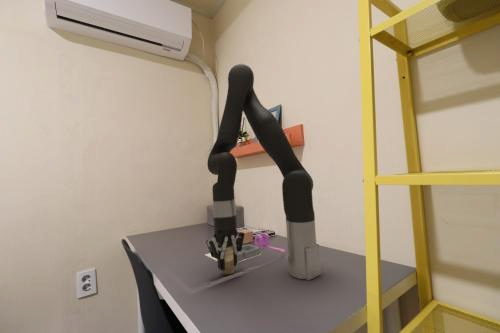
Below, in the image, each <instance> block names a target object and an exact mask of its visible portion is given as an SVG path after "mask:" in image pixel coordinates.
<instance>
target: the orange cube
mask: <svg viewBox="0 0 500 333" xmlns="http://www.w3.org/2000/svg"><path fill="white" fill-rule="evenodd" d="M237 232H243V233H244V240H243V244H247V243H254V231H252V230H250V229H247V228H246V229H245V228H244V229H241V230H237Z"/></svg>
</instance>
